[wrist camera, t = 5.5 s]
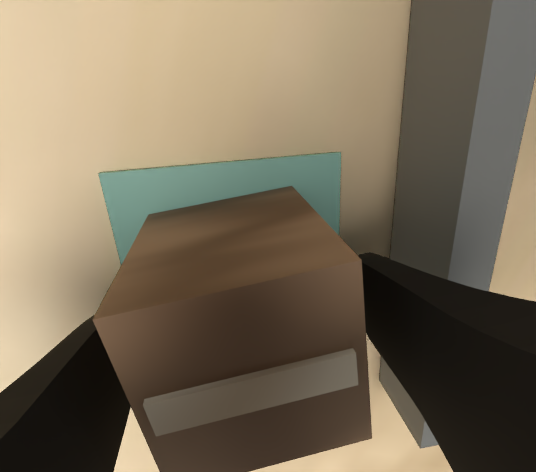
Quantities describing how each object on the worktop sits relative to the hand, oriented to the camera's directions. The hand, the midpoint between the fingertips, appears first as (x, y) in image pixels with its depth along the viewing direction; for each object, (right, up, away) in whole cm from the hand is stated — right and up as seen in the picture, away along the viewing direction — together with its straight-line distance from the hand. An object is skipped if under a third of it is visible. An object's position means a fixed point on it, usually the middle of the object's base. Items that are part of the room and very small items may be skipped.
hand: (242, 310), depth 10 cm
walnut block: (0, +1, +2) cm, 3 cm away
